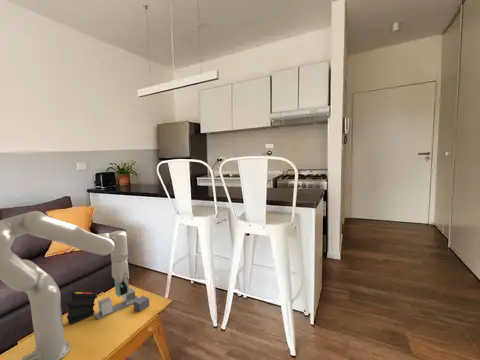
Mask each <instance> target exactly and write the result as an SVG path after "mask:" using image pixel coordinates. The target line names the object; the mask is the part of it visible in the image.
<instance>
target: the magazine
mask: <svg viewBox="0 0 480 360" xmlns="http://www.w3.org/2000/svg"><path fill="white" fill-rule="evenodd" d="M97 295H98V293H97V292H96V291H83V290H82V291H80V290H73V291H72V292H71V293H70V298H69V299H70V300H69V303H67V307H68V308H67V309H68V310H67V315H66V318H67V322H68V325H69V326H70V325H73V324H76V323H78V322H80V321H83V320H85V319H87V318H89V317H92V316H94V314H95V310H94V306H95V305H96V304H95V300H96V299H97V298H98V296H97Z"/></svg>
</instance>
